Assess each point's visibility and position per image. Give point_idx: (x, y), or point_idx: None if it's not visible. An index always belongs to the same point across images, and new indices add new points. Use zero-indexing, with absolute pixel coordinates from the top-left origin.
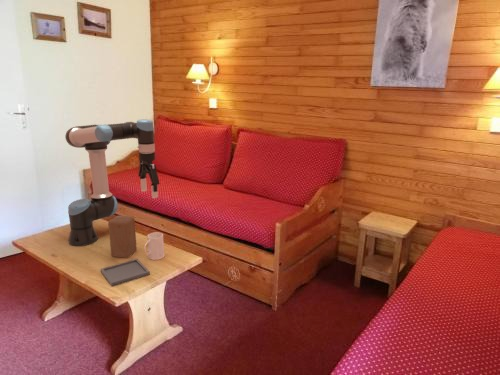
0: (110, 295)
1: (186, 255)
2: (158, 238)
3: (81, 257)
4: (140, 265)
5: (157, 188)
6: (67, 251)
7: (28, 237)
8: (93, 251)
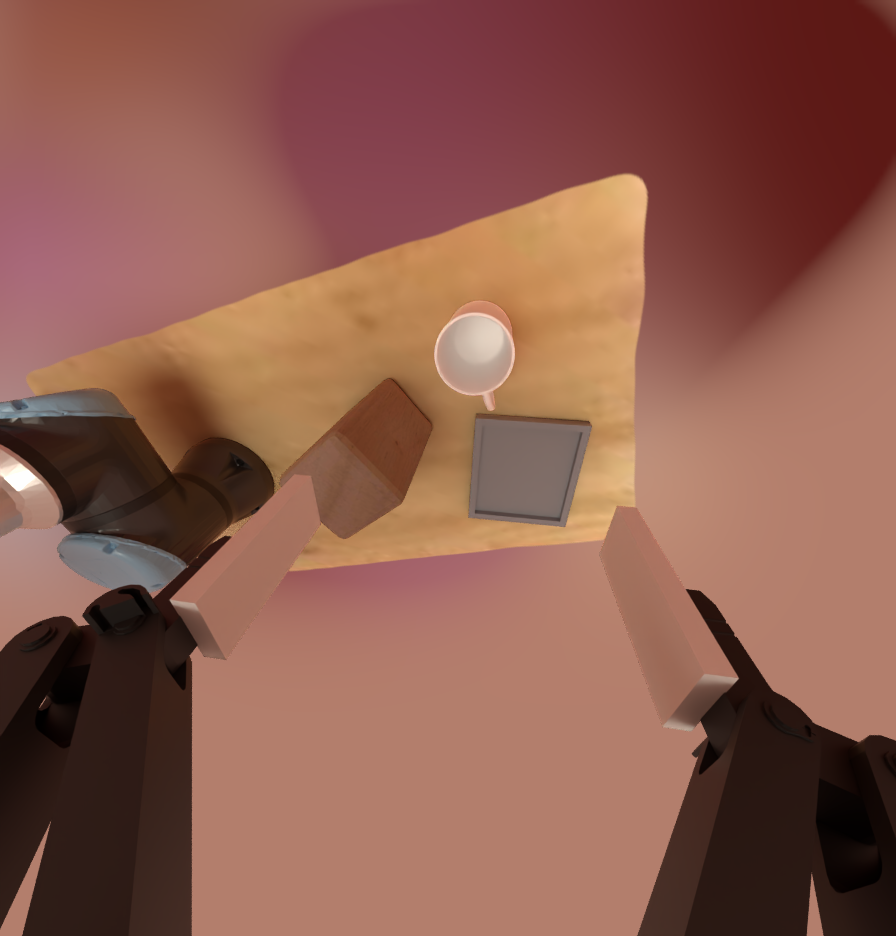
0: (600, 536)
1: (565, 210)
2: (514, 358)
3: None
4: (524, 426)
5: (695, 606)
6: None
7: None
8: None
